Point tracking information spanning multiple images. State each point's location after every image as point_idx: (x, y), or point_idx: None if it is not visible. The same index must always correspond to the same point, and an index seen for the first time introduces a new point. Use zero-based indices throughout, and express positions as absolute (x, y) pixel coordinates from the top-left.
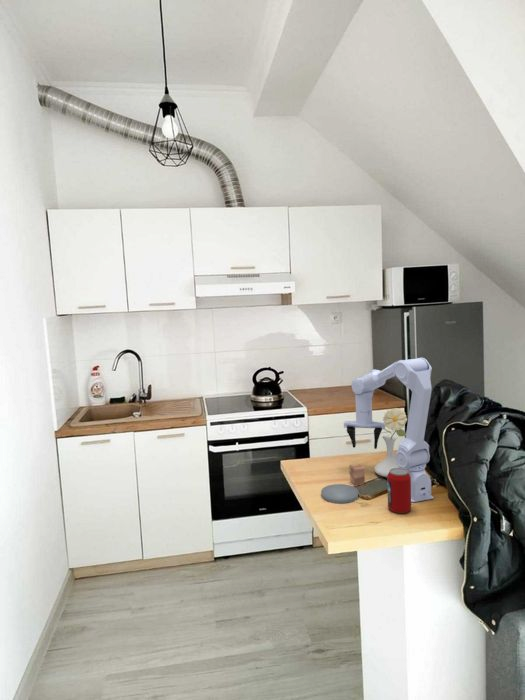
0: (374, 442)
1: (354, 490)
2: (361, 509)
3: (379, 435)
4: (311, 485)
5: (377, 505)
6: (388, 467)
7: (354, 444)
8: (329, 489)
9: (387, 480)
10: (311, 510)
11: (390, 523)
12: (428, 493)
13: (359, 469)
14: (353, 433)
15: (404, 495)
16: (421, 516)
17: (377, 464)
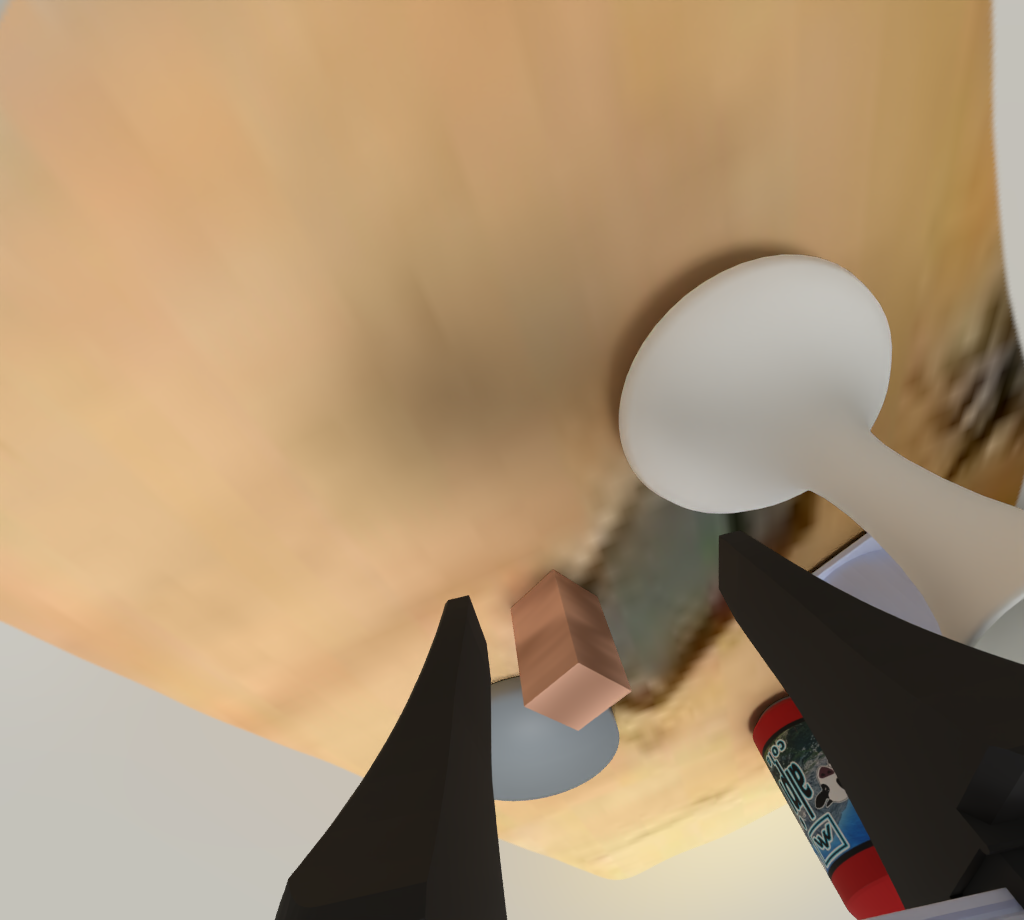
0: (774, 673)
1: (593, 721)
2: (651, 765)
3: (919, 644)
4: (340, 715)
5: (703, 723)
6: (768, 504)
7: (490, 687)
8: None
9: (832, 882)
10: None
11: (761, 783)
12: None
13: (602, 706)
14: (498, 891)
15: None
16: None
17: (659, 442)
